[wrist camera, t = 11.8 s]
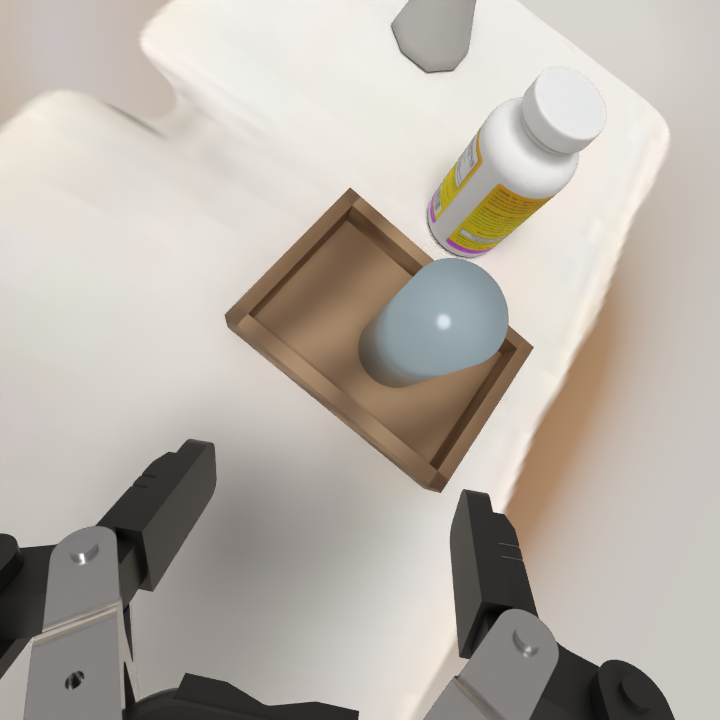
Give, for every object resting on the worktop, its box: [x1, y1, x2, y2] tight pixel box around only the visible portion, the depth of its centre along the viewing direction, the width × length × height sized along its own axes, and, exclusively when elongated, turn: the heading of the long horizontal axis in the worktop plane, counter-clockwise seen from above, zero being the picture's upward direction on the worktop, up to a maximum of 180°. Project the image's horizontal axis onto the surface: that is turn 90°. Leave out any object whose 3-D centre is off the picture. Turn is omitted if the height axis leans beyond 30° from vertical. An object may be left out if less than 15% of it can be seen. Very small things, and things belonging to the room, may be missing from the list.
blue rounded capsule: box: [358, 258, 508, 388], centre depth 25 cm, size 6×6×10 cm
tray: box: [225, 188, 534, 493], centre depth 29 cm, size 18×13×3 cm
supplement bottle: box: [428, 66, 607, 257], centre depth 28 cm, size 7×7×13 cm
